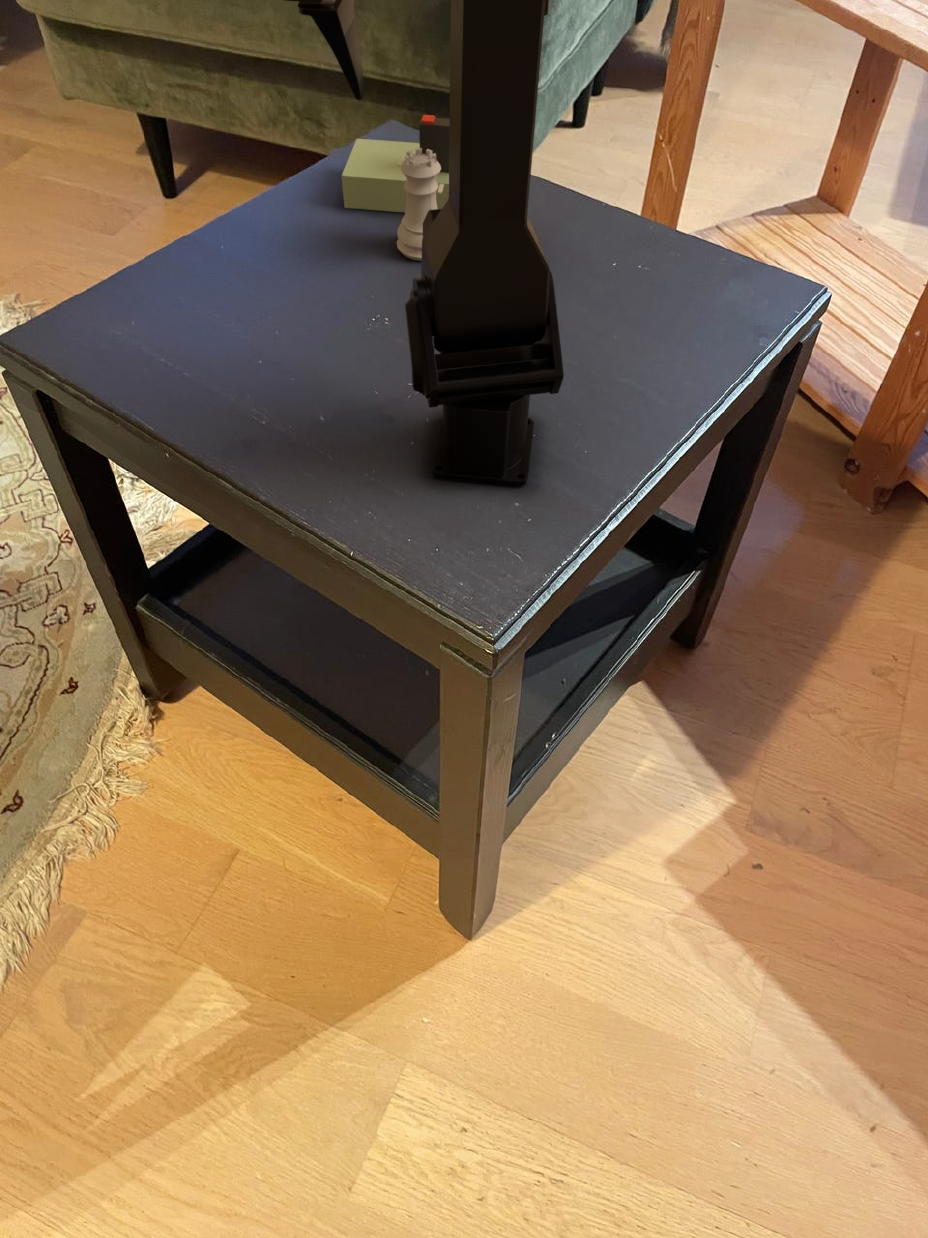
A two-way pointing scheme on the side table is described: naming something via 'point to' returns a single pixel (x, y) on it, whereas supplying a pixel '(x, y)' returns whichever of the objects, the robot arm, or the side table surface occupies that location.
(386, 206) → the olive green box
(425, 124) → the dark square block
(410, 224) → the rook chess piece
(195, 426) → the side table surface
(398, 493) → the side table surface
